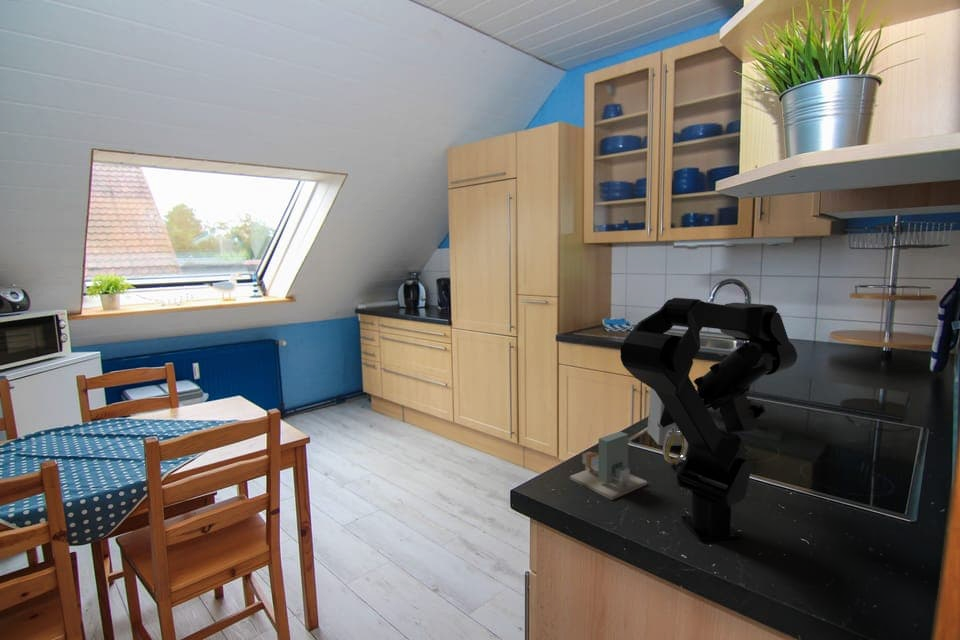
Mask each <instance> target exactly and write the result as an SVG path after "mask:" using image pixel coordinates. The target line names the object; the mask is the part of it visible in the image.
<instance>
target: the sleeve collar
mask: <svg viewBox="0 0 960 640" xmlns="http://www.w3.org/2000/svg"><path fill="white" fill-rule="evenodd" d="M617 463H618V464H621V465H623V466H626V467H628V468H629V433H625V432H623V431H617V432H613V433H611V434H608V435H605V436H602V437H599V438H598V481H600V482H602V483H605V484H609V483H611V482H612V465H615V464H617Z"/></svg>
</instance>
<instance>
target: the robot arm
mask: <svg viewBox="0 0 960 640" xmlns="http://www.w3.org/2000/svg"><path fill="white" fill-rule="evenodd" d="M674 326H675V327H683V328H687V329H686V331H685V332H684V334H683V335H682V336H681V335H675V334H668V333H666V332H669V330H671V329H672V328H673V327H674ZM703 328H708V329H715V330H719V331H720V332H721V333H722V334H724V335H726V336H729V337H732V338H734V339H735V340H738V341H745V342H743V343H742V344H740V345H739V346H738V347H737V348H736V349H735V350H733V351H732V352H731V353H729V354H728V355H727V356H726V357H725V358H724V359H722V360H721V361H719V362H717V363H714V364H711V366H710V367H709V369H710V370H709V371H707V372H706V373H705V374H704V375H702V376H699V377H696V378H695V379H694V380H693V382H692V380H691V378H690V376H689V375H690V373H691V370H692V367H693V364H694V360H693V359H694V358H695V357H696V355H697V354H698V353H699V351H700V350H701V339H700V338H701V337H700V332H701V330H702V329H703ZM789 339H790V338H789V337H788V334H787V331H786V327H785V325H784V321H783V319H782V315H781V314H780V312H778V308H777V307H776V306H775V305H773V304H763V303H748V302H731V303H725V304H718V303H713V302H707V301H704V300H701V299H698V298H688V297H687V298H684V297H673V298H671V299H668V300H666V301H665V303H663V305H662V306H661V307H660V309H658V310H657V311H655V312H653V313H651V314H650V315H648V316H646V317H645V318H644V319H642V320H640V321H639V322H637V323H636V325H635V326H634V327H633V329H632V330H631V331H630V332H629V333H628V335H627V336H626V337H625V338H624V340H623V342H622V343H621V346H620V356H619V357H620V360H621V363H622V366H623V368H625V369H626V370H627V371H628V372H629V373H630V375H632V376H633V377H634V378H635V379H636V380H637V381H640V382H641V383H643V384H644V385H646V386H648V387H649V388H650V387H651V388H652V389H653V390H654V391H655V392H656V393H657V395H658V396H659V398H660V400H661V401H662V403H663V404H664V410H663V413H662V416H661V420H660V424H661V425H662V427H666V426H668V425H670V424H673V423H676V425H677V427H678V428H679V430H680V431H681V433H682V435H683V436H684V438H685V439H686V441H687V442H688V449H687V452H686V455H685V459H684V461H683V463H682V465H681V467H680V468H679V471H678V473H677V475H676V480H677V481H676V482H677V486H678V487H680V488H684V489H685V490H688V491H690V503H689V505H690V506H689V515H682V516H680V520H681V522H682V523H683V524H684V525H685V526H686V527H687V528H688V529H689V531H690V532H691V533H692V534H693V535H694V536H695V537H696V538H697V539H698V540H699V541H702V542H705V541H706V542H707V541H716V540H717V541H719V540H720V541H721V540H733V539H734V540H735V539H739V538H740V536H741V535H740V533H739V532H738V531H737V530H736V529H734V527H732V525H731V523H732V508H733V507H732V506H734V505H735V504H737V503H738V502H740V501H742V500H744V499H745V498H746V493H747V489H748V485H749V482H750V476H751V471H752V465H751V461H750V459H749V456H748V454H747V453H748V452H749V448H746V447H745V446H744V443H743V440H742V438H741V437H740V435H738V434H741V433H747V432H748V433H749V432H750V431H751V430H754V429H756V428H757V427H758V426H759V424H760V423H761V421H760V419H761V417H762V416H764V415H765V414H766V412H767V411H766V408H765V406H764V404H762V403H758V402H755V401H753V400H752V399H748V392H750V390H751V389H750V388H752V384H754V383H755V382H757V381H758V380H759V379H761V378H762V377H764V376H769V375H773V374H776V373H779V372H782V371H785V370H789V369H791V368H792V367H793V366H794V365H795V364H796V362H797V360H798V352H797V350H796V347H795V346H794V344H793V343H792V342H790V340H789ZM694 384H695V385H696V387H695V385H694ZM710 408H712V409H713V411H718V410H719V413H720V415H721V419H722V421H723V423H724V426H725V427H724V428H725V430H726V431H725V430H721V429H719V428H718V426H717V424H716V422H715V421H714V418H713V417H712V415H711V413H710V412H709V410H708V409H710ZM701 476H702V477H701ZM708 479H709V480H708ZM711 480H712V481H711ZM714 481H715V482H714ZM717 482H718V483H717ZM719 483H720V484H719ZM724 485H725V486H724Z"/></svg>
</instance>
